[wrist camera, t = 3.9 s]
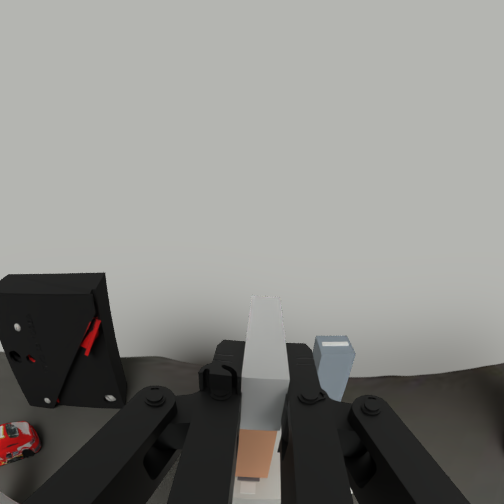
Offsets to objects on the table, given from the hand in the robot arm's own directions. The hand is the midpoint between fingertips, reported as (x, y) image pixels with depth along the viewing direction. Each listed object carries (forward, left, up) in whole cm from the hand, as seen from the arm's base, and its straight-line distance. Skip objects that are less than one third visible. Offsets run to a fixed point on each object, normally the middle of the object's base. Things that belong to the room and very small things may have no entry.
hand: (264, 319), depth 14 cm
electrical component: (+21, +23, -25) cm, 40 cm away
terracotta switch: (+4, -1, -22) cm, 22 cm away
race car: (+6, +33, -25) cm, 42 cm away
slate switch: (+9, -13, -22) cm, 27 cm away
